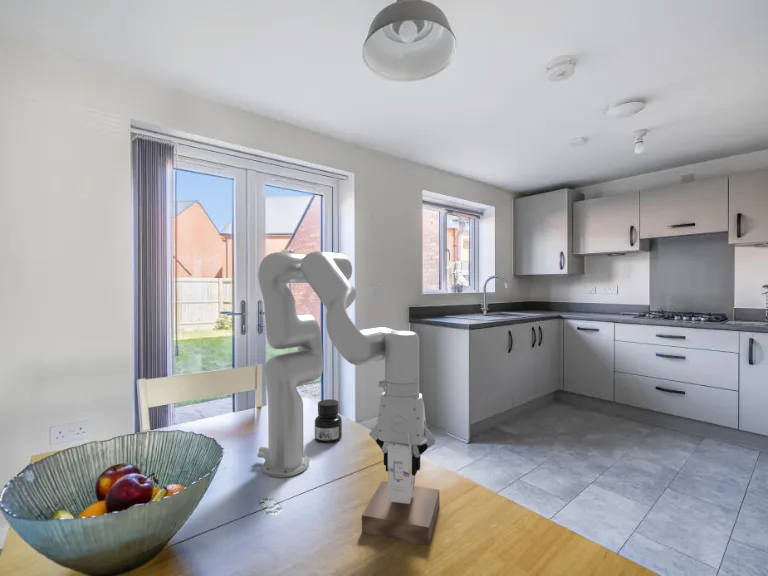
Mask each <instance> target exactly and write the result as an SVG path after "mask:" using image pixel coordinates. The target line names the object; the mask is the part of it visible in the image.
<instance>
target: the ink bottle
mask: <svg viewBox="0 0 768 576" xmlns="http://www.w3.org/2000/svg"><path fill="white" fill-rule="evenodd" d="M339 410H340V409H339V400H336V399H323V400H319V401H318V402H317V416H316V417H315V419H314V440H315V441H316V442H318V443H322V444H332V443H336V442H339V441H340V440H341V438H342V437H343V429H342V427H343V425H342V424H343V420H342V417H341V416H340V415H339Z"/></svg>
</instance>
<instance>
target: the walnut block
mask: <svg viewBox="0 0 768 576" xmlns="http://www.w3.org/2000/svg"><path fill="white" fill-rule="evenodd" d="M439 508H440V489H438V488H431V487H425V486H417V485H414V489H413V493H412V497H411V502H410V504H407V503H398V502H389V501H388V481H384V480H381V481H380V483H379V484H378V486H377V488H376V490H375V491H374V493H373V494H372V497H371V498H370V500H369V502H368V503H367V506H366V507H365V509H364V510H363V512H362V514H361V533H364V534H369V535H375V536H379V537H385V538H390V539H395V540H400V541H405V542H409V543H414V544H420V545H425V546H430V543H431V539H432V536H433V531H434V528H435V523H436V520H437V517H438V513H439Z"/></svg>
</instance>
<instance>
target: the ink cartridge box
mask: <svg viewBox="0 0 768 576" xmlns="http://www.w3.org/2000/svg"><path fill="white" fill-rule="evenodd" d="M408 443H409V445H405V444H397V443H390V442H389V444H388V447H387V449H388V472H387V482H388V501H389V502H398V503H407V504H410V502H411V497H412V493H413V489H414V486H415V485H416V484H415V483H416V479H415V478H416V475H415V476H413V475H412V456H413V453H414V452H413V449H412V445H410V435H409V432H408Z"/></svg>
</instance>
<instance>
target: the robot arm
mask: <svg viewBox="0 0 768 576" xmlns="http://www.w3.org/2000/svg"><path fill="white" fill-rule="evenodd" d="M352 274H353V265H352V262H351V261H350V259H349V258H348V257H347V256H346V255H344V254H342V253H340V252H333V251H332V252H331V251H322V250H321V251H318V250H317V251H312V252H309V253H300V252H289V251H287V252H286V251H275V252H272V253H268V254H267V255H266V256H265V257H264V258H263V259H262V260H261V262H260V265H259V268H258V273H257V277H258V278H257V279H258V284H259V288H260V291H261V294H262V299H263V305H264V308H263V309H264V319H265V332H266V333H265V334H266V339H267V342H268V345H269V347H270V348H272V349H273V350H274V349H275V350H285V349H292V348H297V351H294V352H293V351H292V352H286V353H282V354H278V355H274V356H273V357H271V358H269V359H268V361H267V362H266V363H265V365H264V368H263V377H264V383H265V388H266V393H267V413H268V414H267V418H268V419H267V421H268V424H267V425H268V427H267V428H268V429H267V430H268V432H267V433H268V435H267V436H268V439H267V440H268V441H267V442H268V443H267V444H268V447H265V446H260V447H259V449H258V453H257V458H261V459H262V458H263V459H264V462H263V463H262V471H263V473H264V474H265V475H267V476H270V477H272V478H289V477H293V476H295V475H298V474H301V473H303V472H304V471H305V470H306V469H307V470H308V468H309V466H310V459H309V457H308V456H307V455H306V454H304V403H303V402H304V401H303V399H302V396H301V394H300V393H299V391H298V390H297V387H298V386H300V385H304V384H308V383H311V382H314V381H316V380H318V379H320V377H321V375H322V374H323V372H324V354H323V344H322V333H321V328H320V324H319V322H318V321H317V319H316V318H315V317H314V316H313V315H311V314H309V313H297V310H296V301H295V297H294V295H293V293H292V291H291V289H290V288H289V287H288V286H287V284H308V285H309V286H310V287H311V288H312V289H311V290H312V291H314V293H315V294H316V296H317V298H318V299H319V300H320V301H321V303H322V304H323V306H324V307H325V308H326V314H325V323H326V324H325V326H326V330H327V334H328V337H329V339H330V341H331V342H332V344H333V345H334V348H336V350H337V351H338V353H339V354H340V355H341V356H342V358H343V359H344V360H345V361H347V362H348V363H349V364H351V365H354V366H363V365H367V364H370V363H373V362H379V361H383V360H384V380H379V381H378V387H379V388H382V389H383V392H382V393H381V395H380V397H379V398H380V399H379V403H378V412H377V413H378V414H377V421H376V422H377V424H376V425H375V426H374V427H373V428H372V430H371V431H370V432H369V434H368V435H369V436H370V438H372V440H373V441H375V443H376V444H377V445H378V446H379V448H380V449H381V452H382V453H383V465H384V466H385V472H387V473H388V449H387V447H388V444H389V442H390V443H397V444H405V445H409V443H408V432H409V435H410V445H412V449H413V452H414V453H413V456H412V475H413V476H415V477H416V475H417V473H418V471H420V470H421V455H422V454H424V452H426V451H427V450H428V449H429V448H431V447H432V446H434V445H435V444H436V441H437V439H436V437H435V435H433V433H432V432H431V430H430V429H429V428H428V426H427V423H426V422H427V421H426V412H425V411H426V409H425V403H424V398H423V394H422V393H420V336H419V335H418V333H416V332H415V331H411V330H395V329H392V328H388V327H382V326H380V327H373V328H372V327H371V328H370V327H369V328H365V329H358V328H357V326H356V325H355V324H354V323H353V321H352V319H351V318H350V316H349V314H348V312H347V309H348V308H349V307H350V306H351V305H352V304H353V302H354V301H355V299H356V297H357V290H356V289H355V287H354V286H353V284H352V283H351V282H350V281H349V280H350V279H351V277H352ZM424 438H425V439H426V441H424ZM423 441H424V442H423Z"/></svg>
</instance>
